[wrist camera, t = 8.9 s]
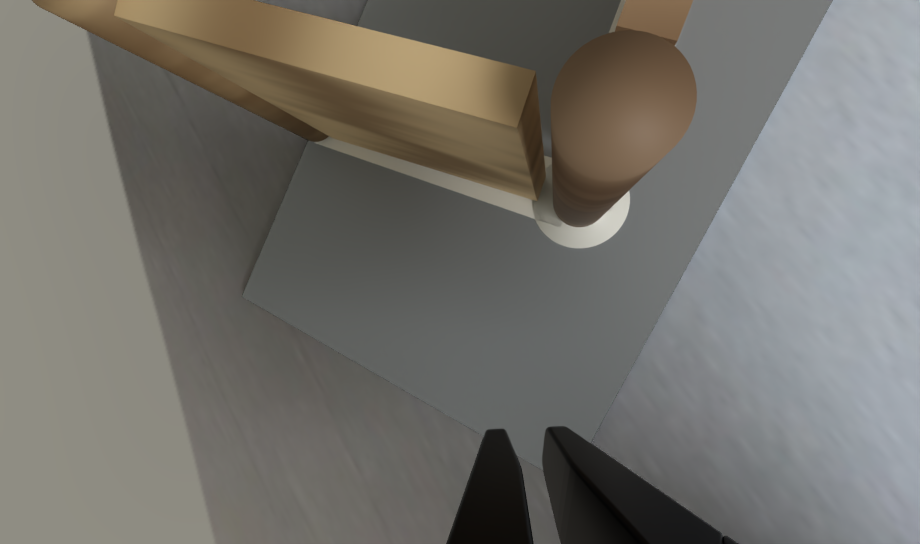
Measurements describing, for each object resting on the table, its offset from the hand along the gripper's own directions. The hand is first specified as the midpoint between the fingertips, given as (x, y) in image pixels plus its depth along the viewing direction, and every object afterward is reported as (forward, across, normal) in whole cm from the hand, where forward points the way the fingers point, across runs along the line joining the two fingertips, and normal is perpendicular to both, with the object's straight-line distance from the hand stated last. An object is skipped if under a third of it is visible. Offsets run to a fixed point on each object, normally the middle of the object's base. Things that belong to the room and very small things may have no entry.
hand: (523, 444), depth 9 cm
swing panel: (+12, -2, +4) cm, 13 cm away
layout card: (+12, +2, +5) cm, 13 cm away
